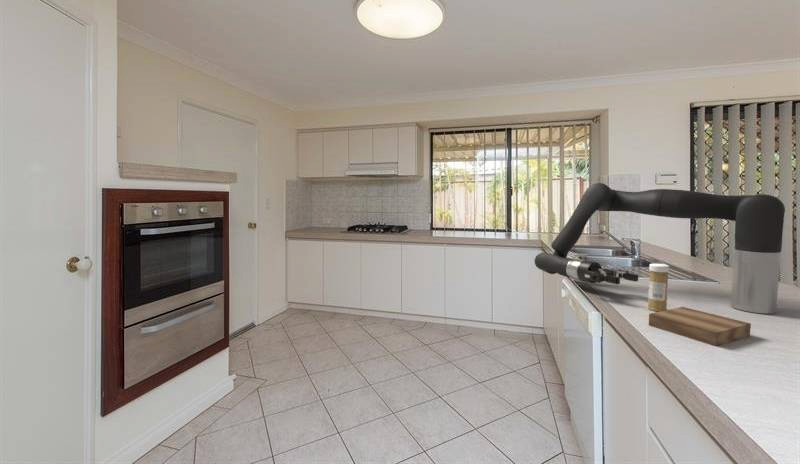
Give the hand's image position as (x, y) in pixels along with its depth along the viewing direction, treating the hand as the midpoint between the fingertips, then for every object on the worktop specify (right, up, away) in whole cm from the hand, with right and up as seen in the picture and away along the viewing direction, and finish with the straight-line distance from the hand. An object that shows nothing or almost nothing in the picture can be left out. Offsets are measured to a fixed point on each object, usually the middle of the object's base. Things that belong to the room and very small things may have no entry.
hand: (628, 279), depth 107 cm
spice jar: (+3, -8, -7) cm, 11 cm away
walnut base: (+1, -9, -23) cm, 25 cm away
